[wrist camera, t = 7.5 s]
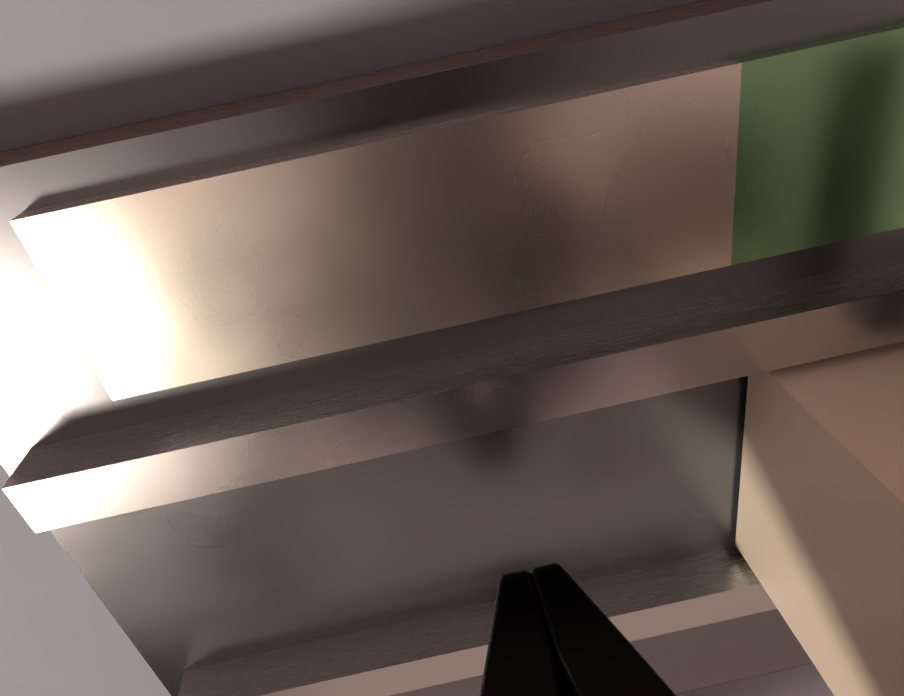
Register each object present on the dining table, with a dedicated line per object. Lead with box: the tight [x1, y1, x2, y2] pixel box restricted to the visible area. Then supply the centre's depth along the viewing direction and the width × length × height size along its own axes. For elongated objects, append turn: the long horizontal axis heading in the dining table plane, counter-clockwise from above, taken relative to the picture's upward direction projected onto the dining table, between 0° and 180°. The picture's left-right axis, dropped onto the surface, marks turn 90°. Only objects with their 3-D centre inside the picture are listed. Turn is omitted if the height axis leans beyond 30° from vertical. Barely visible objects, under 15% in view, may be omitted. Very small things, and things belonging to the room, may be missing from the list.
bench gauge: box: [0, 0, 904, 696], centre depth 9 cm, size 19×13×5 cm
